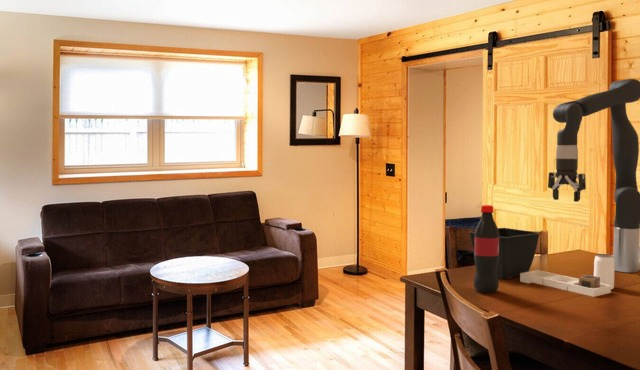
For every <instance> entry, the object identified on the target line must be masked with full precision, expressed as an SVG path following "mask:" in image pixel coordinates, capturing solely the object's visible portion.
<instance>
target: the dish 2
mask: <svg viewBox="0 0 640 370" xmlns="http://www.w3.org/2000/svg"><path fill="white" fill-rule="evenodd" d="M574 282H579V277H578V278H576V277H572V276H568V275H564V274H559V275H557V276H552V277H547V278H543V285H542V286H545V287H546V286H547V287H549V288H555V289H559V290H562V291H568V284H569V283H574Z"/></svg>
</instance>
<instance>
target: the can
mask: <svg viewBox="0 0 640 370" xmlns="http://www.w3.org/2000/svg"><path fill="white" fill-rule="evenodd" d="M593 266H594V267H593V276H596V277H600V283H601V284H606V285H610V286H611V290H612V289H614V288H615V260H614V258H613V254H607V253H596V254H595V256H594V261H593Z"/></svg>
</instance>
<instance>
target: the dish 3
mask: <svg viewBox="0 0 640 370" xmlns="http://www.w3.org/2000/svg"><path fill="white" fill-rule="evenodd" d="M567 291H568V292H571V293H576V294H580V295H584V296H587V297H599V296H603V295H607V294H611V293H612V289H611V286H610V285H606V284H601V283H600V287H598V288H594V289H592V288H588V287H583V286H579V282H574V283H569V284H568V290H567Z"/></svg>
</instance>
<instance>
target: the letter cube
mask: <svg viewBox="0 0 640 370" xmlns="http://www.w3.org/2000/svg"><path fill="white" fill-rule="evenodd" d="M578 279H579V286H583V287H588V288H592V289H594V288H598V287H600V277H596V276H594V275H589V274H584V275H581V276H578Z"/></svg>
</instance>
